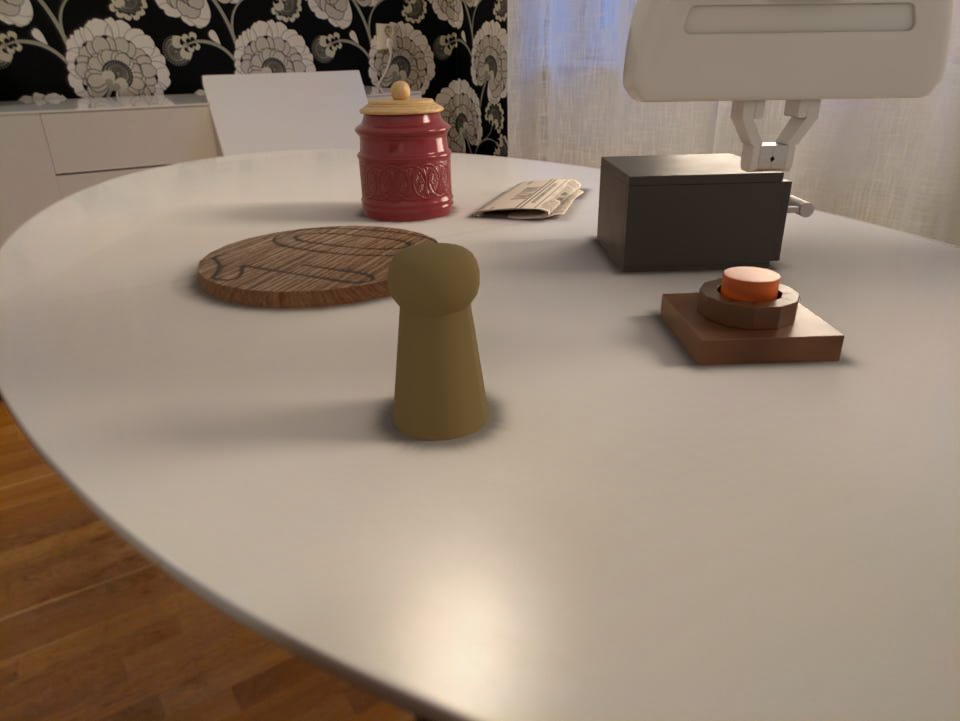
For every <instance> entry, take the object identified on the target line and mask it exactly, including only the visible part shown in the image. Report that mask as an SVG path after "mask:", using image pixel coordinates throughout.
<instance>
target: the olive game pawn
mask: <svg viewBox="0 0 960 721" xmlns="http://www.w3.org/2000/svg"><path fill="white" fill-rule="evenodd" d="M387 281H388V288H389V291H390V294H391V295H390V296H391V298H392V299H393V301H394V302H395V303H396V304H397V305H398V307H399V314H398V327H397V328H398V330H397V343H396V344H397V346H396V347H397V348H396V362H395V380H394V396H393V413H392V422H393V424H394V427H395V428H396V429H397V430H398V431H399V432H401V433H402V434H403V435H406V436H408V437H411V438H414V439H417V440H422V441H423V440H424V441H431V442H437V441H439V442H440V441H451V440H456V439H460V438H465V437H467V436H469V435H472V434H474V433H477V432H478V431H479V430H481V429H482V428H483V427H485V425H487V422H488V421H489V419H490V414H489V413H490V412H489V405H488V399H487V392H486V387H485V381H484V374H483V369H482V363H481V358H480V357H481V356H480V351H479V345H478V338H477V334H476V327H475V321H474V315H473V309H472V303H473V301H474V300H475V299H476V297H477V295H478V293H479V289H480V285H481V272H480V267H479V263H478V259H477V258H476V257H475V255H474V254H473V252H472V251H471V250H469V249H468V248H467V247H465V246H463V245H459V244H455V243H449V242H438V243H423V244H417V245H412V246H408V247H406V248H403V249H402V250H400V251H399V252H397V253H396V254H394V256H393V258H392V260H391V262H390V264H389V268H388V274H387Z"/></svg>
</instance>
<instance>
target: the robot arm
mask: <svg viewBox="0 0 960 721" xmlns="http://www.w3.org/2000/svg"><path fill="white" fill-rule="evenodd" d="M954 14H955V0H636V2H635V4H634V9H633V12H632V16H631V20H630V25H629V29H628V35H627V40H626V41H627V42H626V48H625V53H624V62H623V70H622V71H623V72H622V85H623V89H624V90H625V91H626V93H627V95H628V97H630V98H631V100H633V101H636V102H640V103H677V102H678V103H682V102H684V103H686V102H687V103H688V102H731V108H730V119H731V121H732V125H733V126H734V129H735V131H736V133H737V135H738V138H739V140H740V143H742V149H741V156H740V157H741V162H740V165H741V170H744V171H746V172H765V171H781V172H790V171H791V170H792V167H793V164H794V163H793V162H794V159H795V158H794V157H795V152H796V146H798V145H799V144H800V142H801V141H802V140H803V138H804V137H805V136H806V134H807V133H808V132H809V131H810V130H811V129H812V127H813V126H814V124H815V123H816V121H817V120H818V118H819V113H820V108H821V103H822V100H870V99H871V100H873V99H874V100H877V99H881V100H882V99H924V98H927V97H929V96H930V95H931V94H932V93H933V92H934V91H935V89H937V87H938V86H940V84H941V83H942V82H943V80H944V77H945V74H946V71H947V66H948V61H949V60H948V59H949V55H950V48H951V41H952V34H953V33H952V32H953V24H954ZM767 101H784V103H785V104H784V110H783V115H784V116H786V117H790V118H789V120H788V121H787V123H786V124H785V126H784V127H783V128H782V130H781V132H780V133H779V134H778V136H777V138H776V139H775V140H774V141H770V142H769V141H767V142H763V141H762V138H761V135H760V133H759V130H758V127H757V125H756V122H755V120H760V119H763V117H764V114H765V106H766V102H767Z"/></svg>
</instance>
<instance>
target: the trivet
mask: <svg viewBox="0 0 960 721" xmlns="http://www.w3.org/2000/svg"><path fill="white" fill-rule="evenodd" d="M423 243H439V241H438V240H436V238H434V237H432V236H429V235H427V234H424V233H422V232H418V231H414V230H413V231H412V230H410V229H409V230H408V229H405V228H396V227H387V226H378V225H377V226H376V225H375V226H374V225H334V226H333V225H332V226H331V225H329V226H319V227H318V226H317V227H306V228H305V227H304V228H297V229H291V230H289V229H288V230H284V231H277V232H270V233H265V234H261V235H257V236H252V237H248V238H244V239H242V240H241V239H240V240H237V241H235V242H232V243H229V244H226V245H224V246H221V247H219V248H217V249H215V250H213V251H211V252H209V253H208V254H206V255H205V256H204V257H202V258H201V259H200V260H199V261H198V266H197V268H196V272H197V277H198V283H199V286H200V287H201V288H202V290H203V291H204V292H205V293H206V294H207V295H209V296H211V297H213V298H215V299H218V300H220V301H223V302H227V303H231V304H236V305H241V306H246V307H247V306H248V307H255V308H257V307H259V308H274V309H305V308H322V307H323V308H324V307H331V306H333V307H334V306H340V305H341V306H342V305H347V304H348V305H349V304H350V305H351V304H356V303H361V302H367V301H373V300H376V299H381V298H386V297H390V296H391V294H390V291H389V288H388V281H387V274H388V268H389V264H390V262H391V260H392V258H393V256H394V254H396V253H397V252H399V251H400V250H402V249H403V248H406V247H408V246H412V245H417V244H423Z"/></svg>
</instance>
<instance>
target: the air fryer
mask: <svg viewBox="0 0 960 721" xmlns="http://www.w3.org/2000/svg"><path fill="white" fill-rule="evenodd" d="M740 162H741V156H739V155H737V154H733V153H728V152H727V153H725V152H724V153H688V154H657V155H655V154H653V155H652V154H650V155H618V156H617V155H616V156H601V157H600V169H599V170H600V173H599V190H598V191H599V193H598V208H597V209H598V212H597V230H596V234H597V235H596V239H597V241H598V242H599V244H600V245H601V246H602V248H603V249H604V250H605V251H606V253H607V254H608V256H609V257H610V258H611V259H612V260H613V262H614V263H615V265H616V266H617V267H618V268H619V270H620V271H621V272H622V273H623V274H629V273H663V272H664V273H665V272H687V271H688V272H696V271H698V272H699V271H724V270H726V269H728V268H732V267H744V266H745V267H758V268H764V269H769V268H770V263H771V261H770V258H771V252H772V246H773V240H774V234H775V227H776V221H777V215H778V209H779V203H780V197H781V191H782V185H783V178H784V177H785V172H784V171H765V172H746V171H744V170H741V165H740Z"/></svg>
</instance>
